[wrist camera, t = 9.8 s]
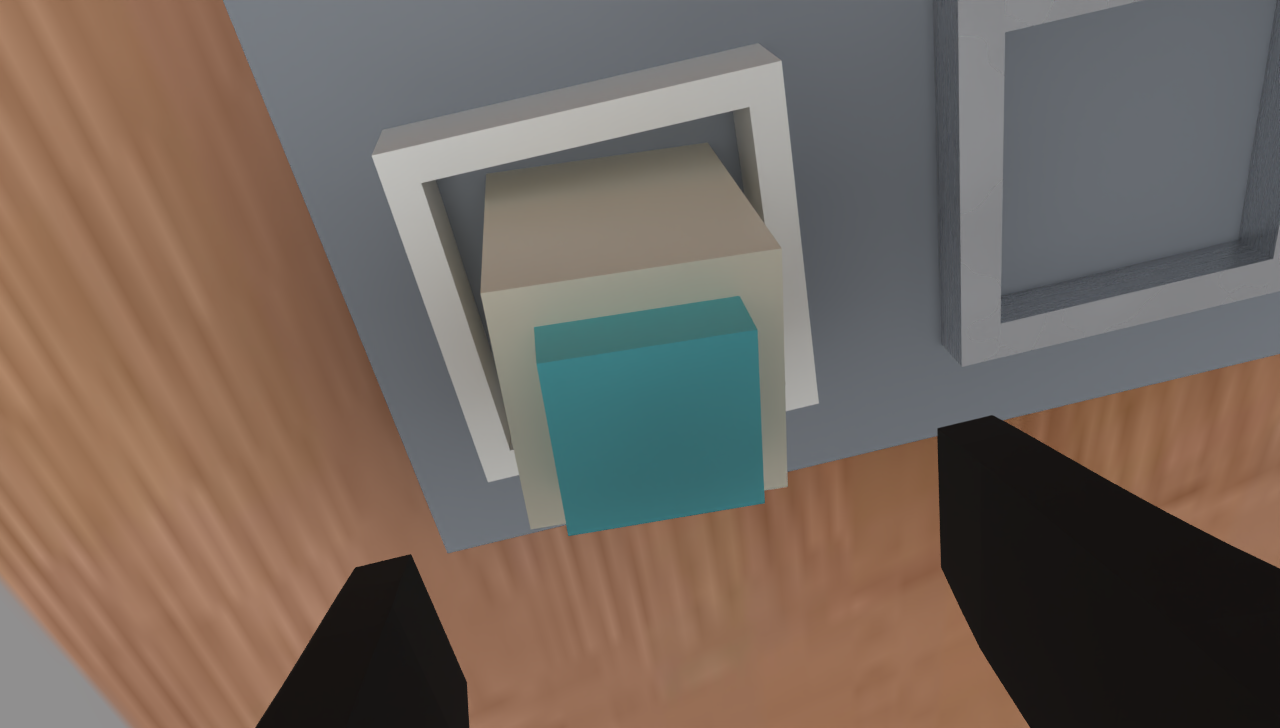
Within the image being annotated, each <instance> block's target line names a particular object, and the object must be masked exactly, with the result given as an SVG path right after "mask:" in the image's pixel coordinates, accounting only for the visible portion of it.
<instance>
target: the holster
mask: <svg viewBox="0 0 1280 728" xmlns="http://www.w3.org/2000/svg"><path fill="white" fill-rule="evenodd" d="M1138 1H1142V0H933V29H934V71H935V114H936V156H937V198H938V240H939V282H940V324H941V344H942V345H943V346H944V348H945V349H946V350H947V351H948V352H949V353H950V354H951V355H952V357H953V358H954V359H955V360H956V361H957V362H958V363H959V364H960V366H961V367H964V366H968V365H972V364H976V363H981V362H985V361H989V360H993V359H997V358H1002V357H1006V356H1010V355H1014V354H1018V353H1023V352H1027V351H1031V350H1035V349H1039V348H1043V347H1048V346H1052V345H1056V344H1060V343H1064V342H1069V341H1073V340H1077V339H1081V338H1085V337H1090V336H1094V335H1098V334H1102V333H1106V332H1111V331H1115V330H1119V329H1123V328H1127V327H1132V326H1136V325H1140V324H1144V323H1148V322H1153V321H1157V320H1161V319H1165V318H1169V317H1173V316H1178V315H1182V314H1186V313H1190V312H1194V311H1199V310H1203V309H1207V308H1211V307H1215V306H1220V305H1224V304H1228V303H1232V302H1236V301H1241V300H1245V299H1249V298H1253V297H1257V296H1262V295H1266V294H1270V293H1274V292H1278V291H1280V0H1276V7H1275V13H1274V19H1273V25H1272V31H1271V38H1270V44H1269V50H1268V56H1267V62H1266V69H1265V75H1264V81H1263V87H1262V93H1261V99H1260V106H1259V112H1258V118H1257V124H1256V130H1255V137H1254V143H1253V149H1252V155H1251V161H1250V168H1249V174H1248V180H1247V186H1246V192H1245V199H1244V205H1243V211H1242V217H1241V223H1240V229H1239V236H1238V240H1236V241H1232V242H1227V243H1223V244H1219V245H1215V246H1211V247H1206V248H1202V249H1198V250H1194V251H1190V252H1185V253H1181V254H1177V255H1173V256H1168V257H1164V258H1160V259H1156V260H1152V261H1147V262H1143V263H1139V264H1135V265H1131V266H1126V267H1122V268H1118V269H1114V270H1109V271H1105V272H1101V273H1097V274H1093V275H1088V276H1084V277H1080V278H1076V279H1071V280H1067V281H1063V282H1059V283H1055V284H1050V285H1046V286H1042V287H1038V288H1034V289H1029V290H1025V291H1021V292H1017V293H1012V294H1008V295H1004V296H1001V264H1002V200H1003V135H1004V70H1005V32H1009V31H1013V30H1017V29H1022V28H1026V27H1030V26H1034V25H1039V24H1043V23H1047V22H1052V21H1056V20H1060V19H1065V18H1069V17H1073V16H1078V15H1082V14H1086V13H1091V12H1095V11H1099V10H1103V9H1108V8H1112V7H1116V6H1121V5H1125V4H1129V3H1134V2H1138Z"/></svg>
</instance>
